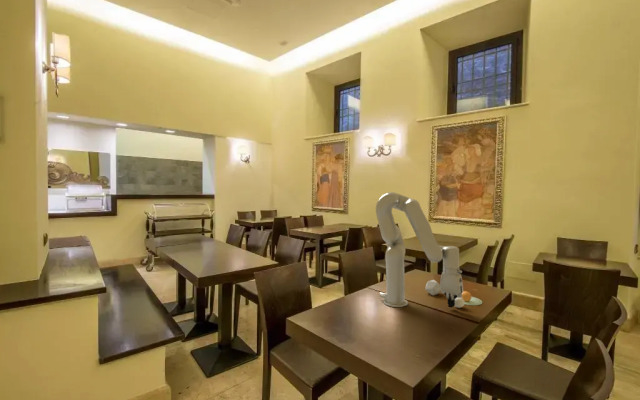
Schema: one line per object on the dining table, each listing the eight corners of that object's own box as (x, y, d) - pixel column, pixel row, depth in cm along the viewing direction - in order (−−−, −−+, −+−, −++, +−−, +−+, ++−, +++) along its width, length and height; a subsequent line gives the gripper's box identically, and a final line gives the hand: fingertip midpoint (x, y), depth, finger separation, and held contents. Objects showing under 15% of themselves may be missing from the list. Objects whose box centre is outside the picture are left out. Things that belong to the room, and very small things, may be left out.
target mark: (451, 301, 164) (451, 301, 164) (456, 294, 175) (456, 294, 175) (480, 307, 156) (480, 306, 156) (483, 299, 167) (483, 298, 167)
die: (443, 297, 172) (444, 281, 177) (433, 292, 169) (434, 275, 175) (431, 298, 179) (432, 283, 184) (421, 293, 176) (422, 277, 181)
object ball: (461, 287, 165) (465, 291, 168) (456, 296, 164) (460, 299, 168) (471, 292, 161) (474, 295, 164) (466, 301, 160) (470, 304, 163)
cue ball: (459, 293, 158) (459, 301, 160) (450, 296, 157) (450, 304, 159) (467, 299, 153) (466, 308, 155) (458, 302, 152) (457, 311, 154)
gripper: (469, 272, 149) (469, 308, 150) (440, 266, 161) (440, 300, 161) (462, 275, 145) (462, 313, 145) (433, 269, 156) (433, 304, 156)
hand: (451, 306), depth 153 cm, fingers closed
